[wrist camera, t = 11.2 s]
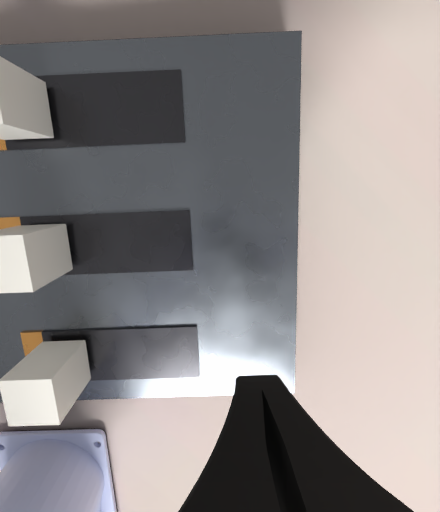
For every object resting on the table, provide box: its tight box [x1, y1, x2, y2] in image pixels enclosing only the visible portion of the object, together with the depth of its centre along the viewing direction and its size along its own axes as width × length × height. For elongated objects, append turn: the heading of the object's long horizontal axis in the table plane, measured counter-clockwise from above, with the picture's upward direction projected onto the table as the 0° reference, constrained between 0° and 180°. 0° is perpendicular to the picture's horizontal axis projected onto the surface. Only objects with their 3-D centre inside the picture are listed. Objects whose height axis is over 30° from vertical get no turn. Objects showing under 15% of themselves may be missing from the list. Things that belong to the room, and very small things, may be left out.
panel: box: [0, 31, 302, 402], centre depth 18 cm, size 19×19×3 cm
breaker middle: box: [0, 224, 73, 293], centre depth 14 cm, size 2×2×4 cm
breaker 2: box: [0, 340, 91, 426], centre depth 16 cm, size 2×2×4 cm
